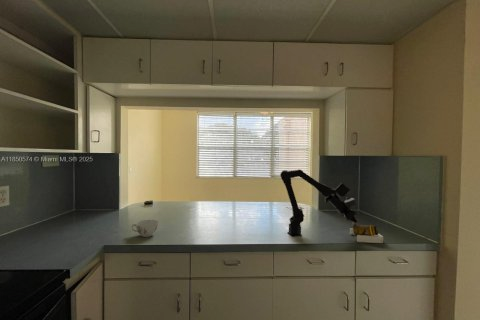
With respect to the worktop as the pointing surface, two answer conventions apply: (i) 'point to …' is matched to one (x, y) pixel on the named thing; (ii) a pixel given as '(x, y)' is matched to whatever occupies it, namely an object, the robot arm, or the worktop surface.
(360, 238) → the corral
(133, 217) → the worktop surface
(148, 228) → the teacup
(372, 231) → the condiment
